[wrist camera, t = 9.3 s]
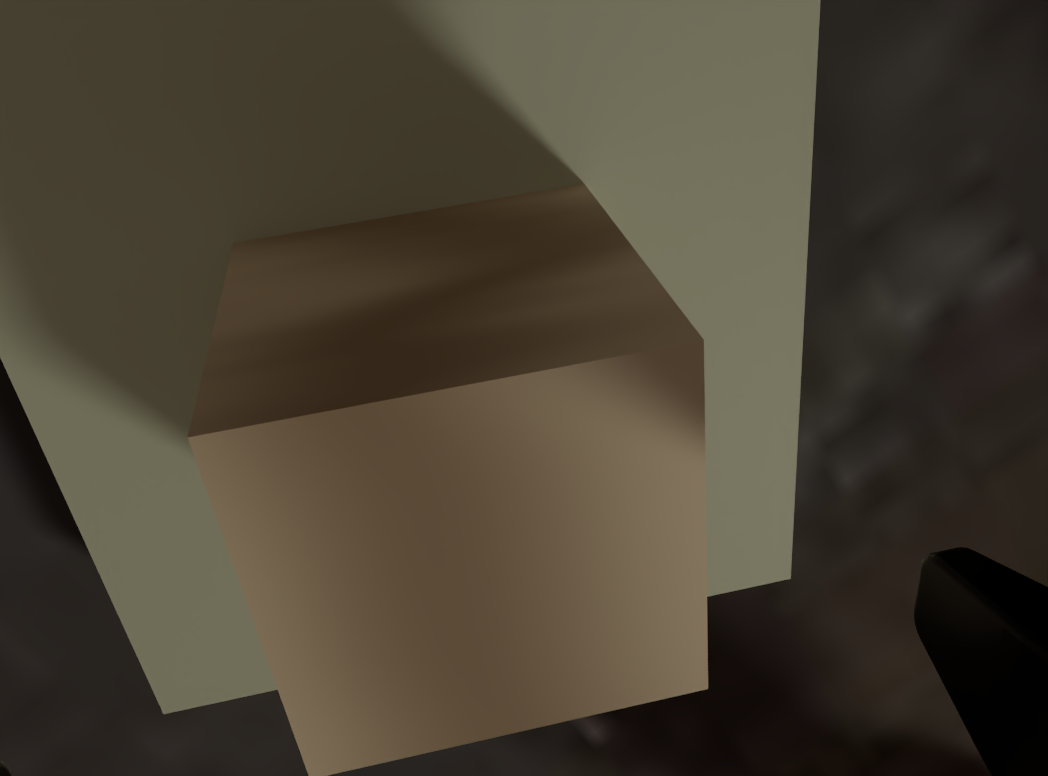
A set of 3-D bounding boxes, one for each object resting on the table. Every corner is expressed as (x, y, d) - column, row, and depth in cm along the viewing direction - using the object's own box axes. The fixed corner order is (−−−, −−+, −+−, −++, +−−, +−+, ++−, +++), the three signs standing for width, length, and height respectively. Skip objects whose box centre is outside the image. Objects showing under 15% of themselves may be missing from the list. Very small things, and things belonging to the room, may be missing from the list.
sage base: (738, -125, 15) (826, -118, 12) (733, 488, 21) (790, 578, 18) (-63, -15, 13) (-156, 17, 11) (184, 600, 20) (163, 714, 17)
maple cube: (584, 183, 13) (704, 340, 9) (606, 465, 16) (707, 689, 12) (233, 243, 13) (187, 436, 9) (314, 523, 16) (310, 779, 11)
